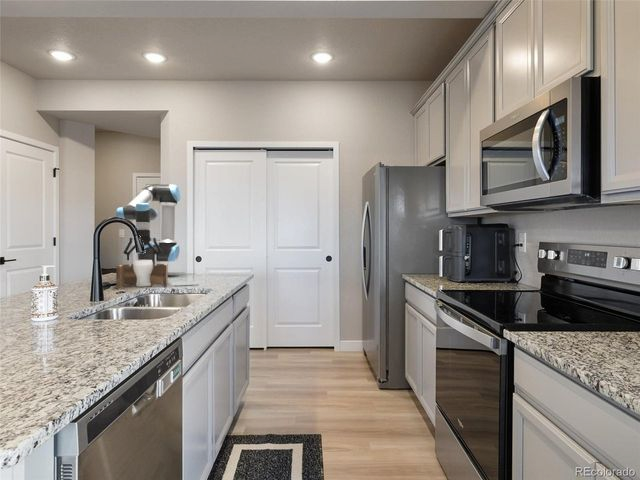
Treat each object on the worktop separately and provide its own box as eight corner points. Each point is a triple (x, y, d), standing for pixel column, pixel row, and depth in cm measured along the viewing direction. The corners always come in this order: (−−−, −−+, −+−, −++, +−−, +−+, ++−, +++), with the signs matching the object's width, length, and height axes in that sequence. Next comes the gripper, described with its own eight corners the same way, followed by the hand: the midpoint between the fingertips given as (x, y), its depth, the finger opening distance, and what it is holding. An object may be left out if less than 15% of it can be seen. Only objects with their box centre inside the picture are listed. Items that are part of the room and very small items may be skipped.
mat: (172, 283, 231) (172, 282, 231) (197, 282, 236) (197, 281, 236) (171, 286, 217) (171, 285, 217) (198, 285, 222) (198, 284, 222)
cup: (148, 287, 214) (147, 261, 214) (129, 287, 214) (129, 260, 214) (156, 284, 225) (156, 259, 224) (139, 284, 225) (138, 259, 225)
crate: (121, 284, 224) (121, 263, 223) (167, 282, 232) (167, 262, 232) (116, 288, 208) (116, 266, 207) (166, 286, 216) (166, 264, 216)
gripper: (117, 229, 211) (118, 266, 211) (165, 229, 219) (165, 265, 220) (120, 229, 218) (120, 265, 218) (166, 229, 226) (166, 264, 227)
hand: (143, 265), depth 219 cm, fingers open, 13 cm apart
